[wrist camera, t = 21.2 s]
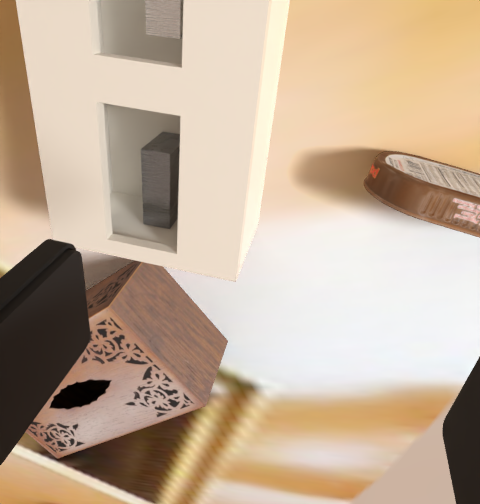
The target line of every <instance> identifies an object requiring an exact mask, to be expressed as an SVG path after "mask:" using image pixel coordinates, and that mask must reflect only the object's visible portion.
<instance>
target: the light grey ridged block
mask: <svg viewBox="0 0 480 504" xmlns="http://www.w3.org/2000/svg"><path fill="white" fill-rule="evenodd" d="M183 4H184V0H145V7H146V35H152V36H160V37H168V38H176V39H182V38H183Z"/></svg>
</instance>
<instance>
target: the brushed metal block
mask: <svg viewBox="0 0 480 504" xmlns="http://www.w3.org/2000/svg"><path fill="white" fill-rule="evenodd" d="M179 156H180V134H175V133H169V132H162V133H160V134H159V135H158V136H157V137H155V138H154V139H153V140H152V141H150V142H149V143H148V144H146V145H145V146H144V147H143V148H141V171H142V200H143V224H146V225H151V226H156V227H161V228H166V229H170V228H171V227H172V225H173V224H174V223H175V221H176V220H177V219H178V193H179Z"/></svg>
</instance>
